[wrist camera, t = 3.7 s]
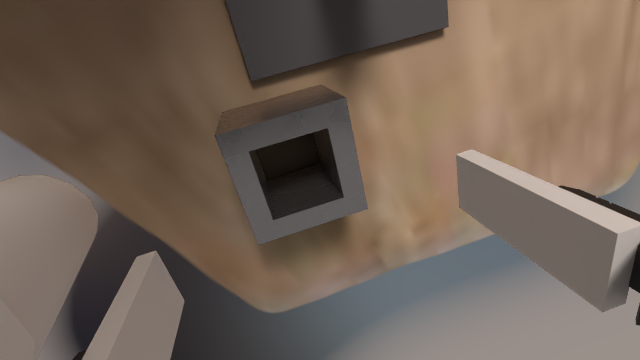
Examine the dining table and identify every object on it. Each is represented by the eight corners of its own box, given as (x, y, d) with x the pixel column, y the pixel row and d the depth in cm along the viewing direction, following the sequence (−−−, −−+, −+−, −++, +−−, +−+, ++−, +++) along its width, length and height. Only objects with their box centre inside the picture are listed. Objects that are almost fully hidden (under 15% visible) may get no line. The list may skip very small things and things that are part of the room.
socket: (255, 200, 24) (258, 244, 19) (222, 112, 21) (214, 135, 16) (340, 173, 25) (367, 208, 20) (320, 84, 22) (346, 97, 17)
